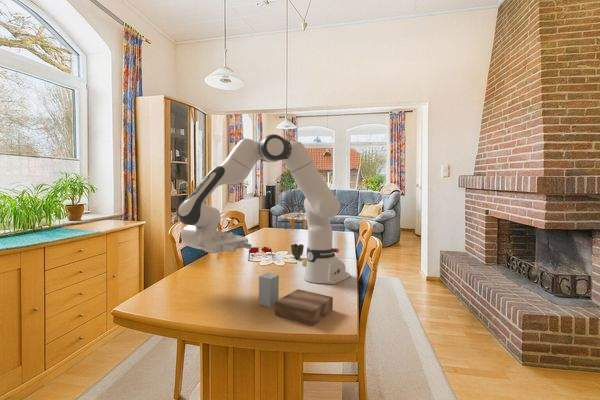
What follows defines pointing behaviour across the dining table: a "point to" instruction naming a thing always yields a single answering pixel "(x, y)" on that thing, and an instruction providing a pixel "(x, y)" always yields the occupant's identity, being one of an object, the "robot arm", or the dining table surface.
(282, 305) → the walnut block
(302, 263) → the bread roll
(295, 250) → the dark brown tapered lump
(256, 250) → the glasses
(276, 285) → the slate block
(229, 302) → the dining table surface
